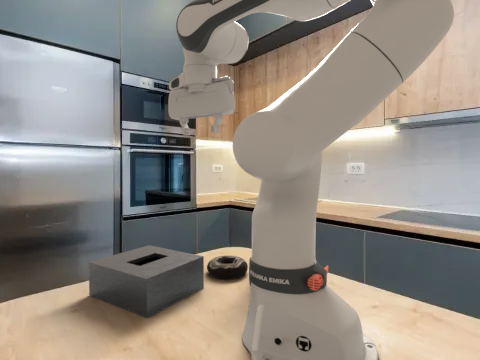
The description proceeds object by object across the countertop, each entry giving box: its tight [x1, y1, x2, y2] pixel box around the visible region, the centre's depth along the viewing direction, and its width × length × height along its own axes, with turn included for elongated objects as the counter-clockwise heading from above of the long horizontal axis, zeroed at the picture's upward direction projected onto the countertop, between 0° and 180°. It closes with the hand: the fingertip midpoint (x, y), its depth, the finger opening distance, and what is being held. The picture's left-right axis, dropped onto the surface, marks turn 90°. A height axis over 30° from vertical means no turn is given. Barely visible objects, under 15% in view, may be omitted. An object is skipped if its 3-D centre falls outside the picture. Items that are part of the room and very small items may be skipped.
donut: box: [206, 255, 249, 280], centre depth 86 cm, size 12×12×4 cm
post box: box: [88, 244, 205, 319], centre depth 73 cm, size 20×18×8 cm
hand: (200, 134), depth 79 cm, fingers open, 8 cm apart
